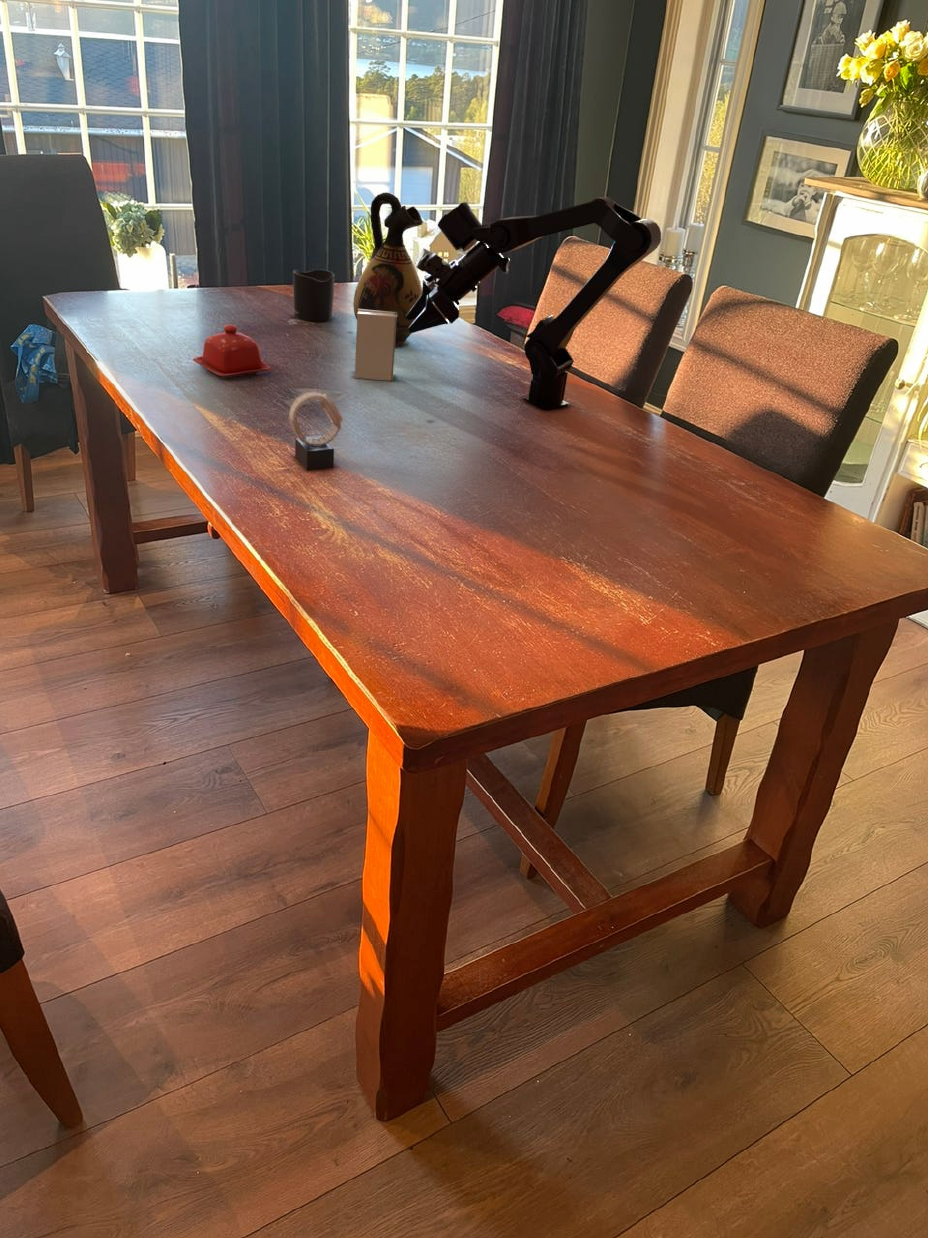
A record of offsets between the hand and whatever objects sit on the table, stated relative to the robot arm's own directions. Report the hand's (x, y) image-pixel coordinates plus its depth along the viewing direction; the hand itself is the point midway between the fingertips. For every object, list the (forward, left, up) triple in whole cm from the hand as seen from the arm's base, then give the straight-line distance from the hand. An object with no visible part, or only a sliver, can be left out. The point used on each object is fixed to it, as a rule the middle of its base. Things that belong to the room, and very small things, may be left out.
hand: (408, 324), depth 181 cm
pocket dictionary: (+5, -3, -11) cm, 12 cm away
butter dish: (+30, -16, -11) cm, 35 cm away
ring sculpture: (+38, +30, -11) cm, 49 cm away
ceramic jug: (-11, -25, -11) cm, 30 cm away
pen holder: (-5, -46, -11) cm, 48 cm away
